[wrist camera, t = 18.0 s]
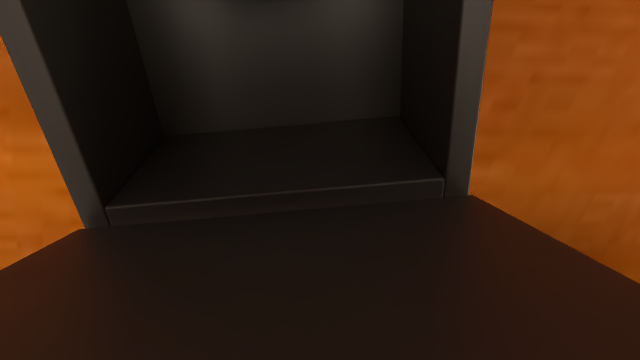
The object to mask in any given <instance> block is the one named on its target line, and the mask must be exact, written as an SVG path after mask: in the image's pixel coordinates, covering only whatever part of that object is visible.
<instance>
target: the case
mask: <svg viewBox="0 0 640 360" xmlns="http://www.w3.org/2000/svg"><path fill="white" fill-rule="evenodd" d="M492 7H493V0H0V34H1V37H2V39H3V41H4V44H5V46H6V48H7V50H8V53H9V55H10V57H11V60H12V62H13V64H14V67H15V69H16V71H17V73H18V76H19V78H20V80H21V83H22V85H23V87H24V89H25V92H26V94H27V96H28V99H29V101H30V103H31V105H32V108H33V110H34V112H35V115H36V117H37V119H38V121H39V124H40V126H41V128H42V131H43V133H44V135H45V137H46V140H47V142H48V144H49V147H50V149H51V151H52V153H53V156H54V158H55V160H56V163H57V165H58V167H59V169H60V172H61V174H62V176H63V179H64V181H65V183H66V185H67V188H68V190H69V192H70V195H71V197H72V199H73V201H74V204H75V206H76V208H77V211H78V213H79V215H80V217H81V220H82V222H83V224H84V227H85V229H89V228H100V227H112V226H123V225H135V224H146V223H158V222H169V221H181V220H192V219H204V218H215V217H227V216H238V215H249V214H261V213H272V212H284V211H295V210H307V209H318V208H330V207H341V206H353V205H364V204H376V203H387V202H399V201H410V200H422V199H433V198H444V197H456V196H467V195H469V187H470V179H471V171H472V164H473V156H474V148H475V140H476V132H477V124H478V117H479V109H480V101H481V93H482V85H483V77H484V70H485V62H486V54H487V46H488V38H489V30H490V23H491V15H492Z"/></svg>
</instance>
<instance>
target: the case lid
mask: <svg viewBox="0 0 640 360" xmlns="http://www.w3.org/2000/svg"><path fill="white" fill-rule="evenodd" d="M0 360H640V284H639V283H637V282H635V281H634V280H632V279H630V278H628V277H626V276H624V275H622V274H620V273H619V272H617V271H615V270H613V269H611V268H609V267H607V266H605V265H603V264H602V263H600V262H598V261H596V260H594V259H592V258H590V257H588V256H586V255H585V254H583V253H581V252H579V251H577V250H575V249H573V248H571V247H570V246H568V245H566V244H564V243H562V242H560V241H558V240H556V239H554V238H553V237H551V236H549V235H547V234H545V233H543V232H541V231H539V230H537V229H536V228H534V227H532V226H530V225H528V224H526V223H524V222H522V221H521V220H519V219H517V218H515V217H513V216H511V215H509V214H507V213H505V212H504V211H502V210H500V209H498V208H496V207H494V206H492V205H490V204H488V203H487V202H485V201H483V200H481V199H479V198H477V197H475V196H473V195H467V196H456V197H444V198H433V199H422V200H410V201H399V202H387V203H376V204H364V205H353V206H341V207H330V208H318V209H307V210H295V211H284V212H272V213H261V214H249V215H238V216H227V217H215V218H204V219H192V220H181V221H169V222H158V223H146V224H135V225H123V226H112V227H100V228H89V229H79V230H77V231H75V232H73V233H71V234H69V235H67V236H65V237H64V238H62V239H60V240H58V241H56V242H54V243H52V244H50V245H48V246H46V247H44V248H42V249H40V250H39V251H37V252H35V253H33V254H31V255H29V256H27V257H25V258H23V259H21V260H19V261H17V262H16V263H14V264H12V265H10V266H8V267H6V268H4V269H2V270H0Z"/></svg>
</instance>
